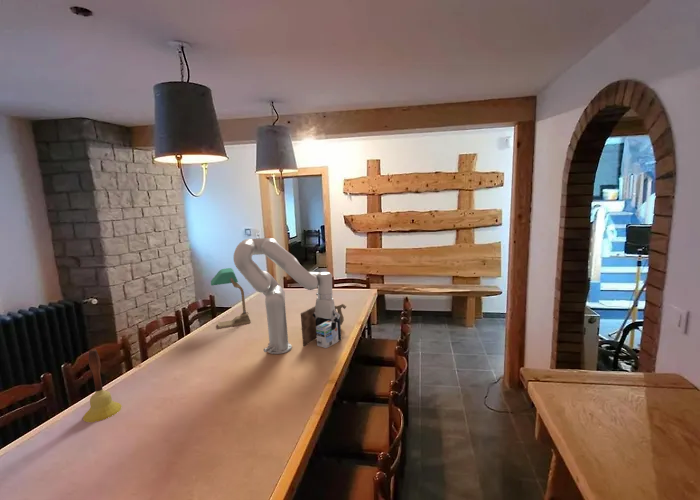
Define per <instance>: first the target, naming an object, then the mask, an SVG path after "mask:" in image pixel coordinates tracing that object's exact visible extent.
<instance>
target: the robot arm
mask: <svg viewBox="0 0 700 500" xmlns="http://www.w3.org/2000/svg"><path fill="white" fill-rule="evenodd" d="M255 255H259V256H260V255H264V256H265V257H267V258H268V259H269V260H270V261H272V263H274V264H275V265H277V266H278V267H279V268H280V269H282V270H283V271H284V272H285V274H287V275H288V276H290V277H291V278H292V279H293V280H294V281H295V282H296V283H298V284H299V285H300V286H301V287H303V288H305V289H306V290H307V291H308V290H309V291H313V290H315V289H316V288H317V292H316V293H315V295H316V296H317V297H316V300H315V305H314V306H315V309H313V310H311V312H312V314H313V316H314V319H315V320H316V326H318V325H320V318H325V319H331V321H332V323H331V329H332V330H334V329H335V328H336V321H337V320H338V319H339V317H340V314H339V313H338V311H337V310H336V311H335V306H336V305H335V300H334V298H333V275H332V273H331V272H329V271H321V272H318V271H308V269H306V268H305V267H304V266H302V265H301V264H300V262H299V260H298V259H297V258H296V257H295V255H293V254H292V253H290V251H288V250H286V249H285V248H284V247H283V246H282V245H280V244H279V242H278V240H276V238H274V237H266V238H265V237H264V238H245V239H243V240H242V241H241V242H239V243H238V244H237V246H236V248H235V250H234V253H233V262H234V265H235V267H236V269H237V271H239V273H240V274H241V275H242V277H244V279H245V280H246V281H247V282H248V283H249V284H250V286H251V287H252V288H253V289H254V290H255V291H256V292H258V293H261V294H263V295H264V296H265V311H266V318H267V331H268V342H269V343H268V344H267V345H268V346H267V347H264V348H263V352H264V353H269V354H270V355H271V354H272V355H280V354H281V355H282V354H286V353H288V352H290V351H291V350H292V344H291V343H290V342H289V336H288V321H287V311H286V310H287V309H286V293H285V290H284V288H283V287H282V286H281V285H280V283H279V282H278V281H277V280H276V279H275V278H274V276H273V275H272V274H270V272H268V271H266V270H262V269H261V268H260V267H259V265H258V264H257V263H256V262H255V261H254V260H253V258H252V257H253V256H255ZM335 315H336V318H335Z"/></svg>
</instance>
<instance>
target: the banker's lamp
mask: <svg viewBox="0 0 700 500" xmlns="http://www.w3.org/2000/svg"><path fill="white" fill-rule="evenodd" d="M227 284H232V285H233V287H234V288H236V289H237V288H238V289H239V290H240V294H241V304H242V305H241V306H242V313H240V315H237V316H235V317H234V318H232V319H231V320H227V321H217V327H218V329H224V328H230V327H235V326H242V325H247V324H252V323H251V319H250V317H249V312H247V311H246V302H245V301H246V300H245V292H244V288H243V287H242V286H241V285H240V284H239V280H238V278H237V276H236V273H235V272H234V269H233V268H232V267H228V268H222V269H220V270H219V271H218V272H217V273H216V274H215V275H214V277H213V278H212V279H211V280H210V286H218V285H227Z"/></svg>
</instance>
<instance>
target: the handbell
mask: <svg viewBox="0 0 700 500" xmlns="http://www.w3.org/2000/svg"><path fill="white" fill-rule="evenodd" d="M88 364H89V365H88V367H89V368H90V371H91V372H92V375H93V376H92V377H93V382H94V388H95V389H94V390H95V392H94V393H93V394H92V395H91V396H90V398H89V407H90V408H89V409H88V410H87V411H86V412H85V414H84V415H83V417H82V419H83V421H84V422H86V423H96V422H95V421H97V422H100V420H101V421H104V420H107V419H109V418H111V417H113V416H115V415H116V414H118V413H119V412H120V411H121V410H122V408H123V406H122V404H121V403H120V402H117V401H114V400H113V399H112V398H113V397H112V395H111V392H110V391H107V390H104V389H103V384H102V378H101V366H102V365H101V359H100V355H99V354H98V350H97V349H96V348H95V349H92V348H91V349H90V350H89V351H88ZM121 407H122V408H121ZM117 412H118V413H117ZM112 415H113V416H112ZM108 417H109V418H108ZM106 418H107V419H106ZM103 419H104V420H103Z"/></svg>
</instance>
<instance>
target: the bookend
mask: <svg viewBox="0 0 700 500" xmlns="http://www.w3.org/2000/svg"><path fill="white" fill-rule="evenodd" d="M335 318H336V316H335ZM326 321H331V319H325V318H320V324H322V323H324V322H326ZM336 322H337V323H338V341H342V328H341V326H342V325H341V324H340V317H339V319H338V320H337V321H336Z"/></svg>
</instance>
